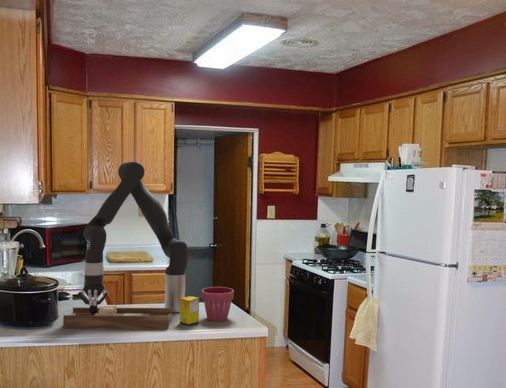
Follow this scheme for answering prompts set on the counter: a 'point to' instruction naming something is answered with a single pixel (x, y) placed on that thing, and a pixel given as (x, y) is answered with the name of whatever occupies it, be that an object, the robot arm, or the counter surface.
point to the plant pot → (217, 302)
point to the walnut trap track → (120, 318)
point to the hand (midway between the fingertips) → (93, 314)
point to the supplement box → (189, 310)
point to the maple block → (107, 310)
